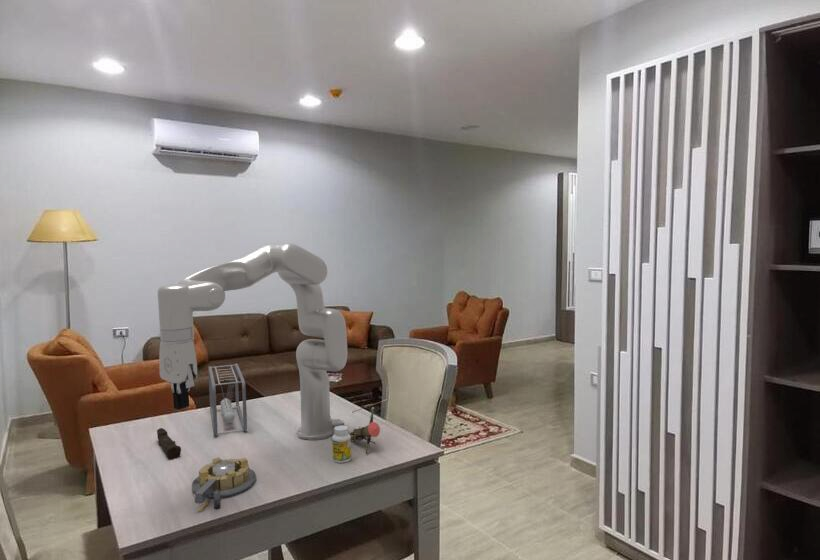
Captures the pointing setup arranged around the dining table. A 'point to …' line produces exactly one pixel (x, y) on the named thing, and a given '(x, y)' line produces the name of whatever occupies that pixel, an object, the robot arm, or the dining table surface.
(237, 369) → the newton's cradle
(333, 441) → the supplement bottle
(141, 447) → the dining table surface
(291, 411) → the dining table surface
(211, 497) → the housing
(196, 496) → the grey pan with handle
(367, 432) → the green toy propeller plane
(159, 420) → the dining table surface
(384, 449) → the dining table surface
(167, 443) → the hand tool
